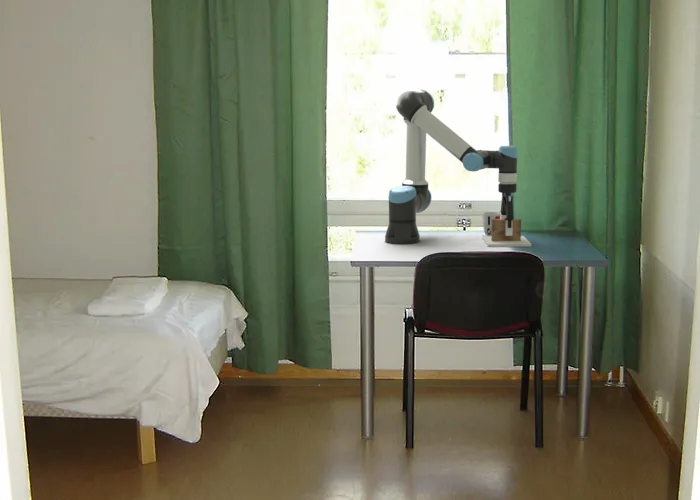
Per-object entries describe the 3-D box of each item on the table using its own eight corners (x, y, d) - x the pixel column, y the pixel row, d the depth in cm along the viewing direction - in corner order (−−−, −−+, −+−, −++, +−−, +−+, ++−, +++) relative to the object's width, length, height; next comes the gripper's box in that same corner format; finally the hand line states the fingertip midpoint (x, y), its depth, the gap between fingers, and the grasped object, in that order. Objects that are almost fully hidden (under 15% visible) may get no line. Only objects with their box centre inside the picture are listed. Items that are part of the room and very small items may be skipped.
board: (492, 241, 362) (492, 220, 361) (491, 239, 365) (491, 219, 364) (520, 240, 362) (521, 219, 360) (519, 239, 365) (520, 218, 363)
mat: (487, 246, 355) (487, 244, 355) (482, 238, 375) (482, 236, 375) (531, 246, 355) (531, 243, 354) (523, 238, 374) (523, 235, 374)
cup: (484, 237, 378) (485, 214, 376) (479, 234, 386) (480, 212, 384) (502, 236, 379) (503, 214, 377) (497, 233, 387) (497, 211, 385)
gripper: (521, 186, 347) (520, 237, 351) (511, 179, 371) (510, 228, 375) (502, 186, 347) (501, 237, 351) (494, 180, 371) (493, 228, 375)
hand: (506, 232), depth 363 cm, fingers open, 13 cm apart
